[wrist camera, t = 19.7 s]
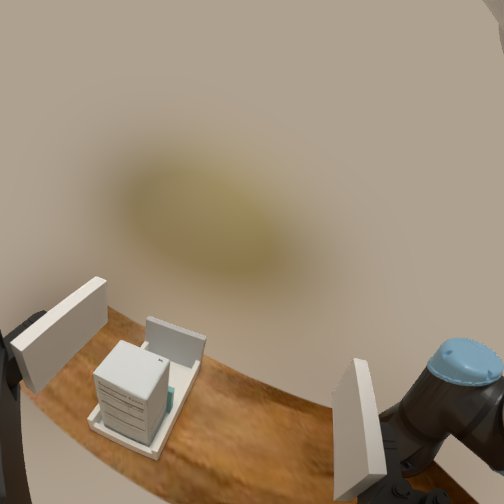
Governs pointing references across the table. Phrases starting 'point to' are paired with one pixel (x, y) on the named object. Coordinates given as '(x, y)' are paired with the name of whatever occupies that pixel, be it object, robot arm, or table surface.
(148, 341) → the tray
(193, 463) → the table surface
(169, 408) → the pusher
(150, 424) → the supplement box
